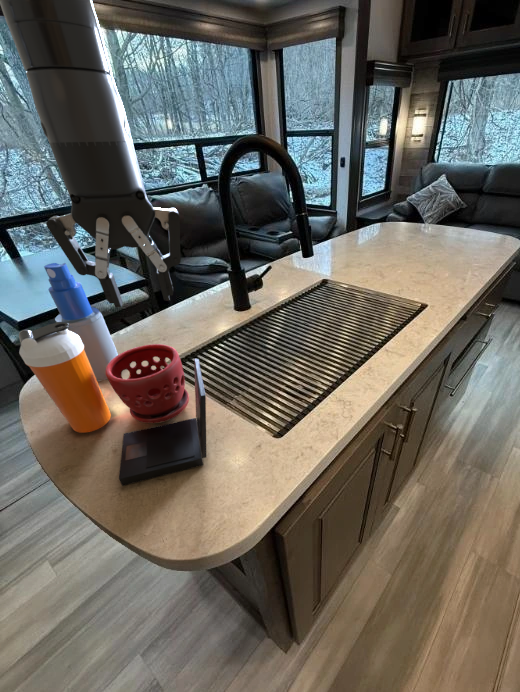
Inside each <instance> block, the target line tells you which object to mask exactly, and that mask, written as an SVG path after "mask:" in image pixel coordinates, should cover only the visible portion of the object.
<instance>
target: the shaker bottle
mask: <svg viewBox="0 0 520 692" xmlns="http://www.w3.org/2000/svg"><path fill="white" fill-rule="evenodd" d="M68 326H69V324H68V323H65V322H58V323H56V322H54V323H50V324H47V325H44V326H41V327H39V328H36V329H34V330H29V329H23V330H21V331H20V332H19V333H18V338H19V339H18V340H19V342H20V347H19V350H18V351H19V352H18V353H19V356H20V357H21V359H22V360H23V362H24V364H25V365H26V366H28V367H29V368H30V370H31V372H32V373H33V374H34V376H35V377H36V378H37V380H38V381H39V383H40V385H41V386H42V387H43V389H44V390H45V391H46V393H47V395H49V397H50V399H51V400H52V401H53V403H54V404H55V405H56V407H57V408H58V410H59V412H60V413H61V415H62V416H63V417H64V418H65V420H66V421H67V423H68V425H69V426H70V427H71V428H72V430H73V431H75V432H77V433H81V434H82V433H83V434H84V433H91V432H94V431H98V430H99V429H101V428H103V427H104V426H105V425H107V424H108V423H109V421H110V420H111V417H112V414H111V411H110V408H109V406H108V404H107V402H106V399H105V397H104V394H103V392H102V389H101V387H100V384H99V381H97V380H96V377H95V375H94V372H93V370H92V368H91V365H90V363H89V360H88V358H87V356H86V353H85V351H84V345H83V343H82V341H81V339H80V337H79V336H78V335H77V334H75V333H73V332H71V331H68V329H67V327H68Z"/></svg>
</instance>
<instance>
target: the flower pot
mask: <svg viewBox="0 0 520 692" xmlns="http://www.w3.org/2000/svg"><path fill="white" fill-rule="evenodd" d="M154 358H158V359H159V360H155V359H154ZM167 359H169V360H170V363H169V364H168V363H167ZM143 362H147V365H143ZM132 363H135V365H134V366H133V367H132V366H131V364H132ZM152 367H155V369H153V368H152ZM162 367H164V368H162ZM125 370H126V371H128V372H129V377H128V378H123V376H122V373H123V371H125ZM138 370H140V372H139V373H138V372H137V371H138ZM106 376H107V378H108V379H107V380H108V382H109V384H110V386H111V388H112V389H113V391H114V392H115V394H116V395H117V396H118V398H119V399H120V401H122V403H123V404H124V405H125V406H126V407H128V408H129V413H130V415H131V417H132V418H133V419H135V420H136V421H137V422H140V423H145V424H160V423H164V422H167V421H170V420H172V419H175V418H176V417H177V416H179V415H180V414H182V412H183V411H184V410H185V409H186V408H187V406H188V405H189V402H190V394H189V392H188V390H187V389H186V388H185V386H186V381H185V379H186V378H185V372H184V367H183V363H182V359H181V357H180V355H179V352H178V350H177V349H176V348H174V347H173V346H170V345H167V344H160V343H152V344H144V345H140V346H136V347H133V348H130V349H127V350H124V351H123V352H121V353H118V356H116V357H115V358H113V359H112V360H111V361H110V362H109V364H108V365H107V367H106Z"/></svg>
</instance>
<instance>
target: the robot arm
mask: <svg viewBox="0 0 520 692" xmlns="http://www.w3.org/2000/svg"><path fill="white" fill-rule="evenodd" d="M0 9H1V11H2V14H3V16H4V20H5V22H6V25H7V27H8V29H9V32H10V34H11V38H12V40H13V42H14V46H15V48H16V50H17V53H18V56H19V58H20V60H21V61H20V62H21V64H22V66H23V69H24V71H25V76H26V78H27V81H28V84H29V88H30V91H31V95H32V100H33V103H34V107H35V110H36V112H37V114H38V118H39V120H40V126H41V129H42V131H43V134H44V136H45V137H46V138H47V141H48V143H49V147H50V148H51V151H52V154H53V157H54V159H55V162H56V164H57V168H58V171H59V172H60V176H61V177H62V180H63V182H64V185H65V187H66V191H67V193H68V196H69V199H70V201H71V209H70V213H66V214H64V215H60V216H59V215H53V216H50V218H48V220H47V221H46V223H45V225H46V228H47V230H48V231H49V232H50V234H51V235H52V237H53V239H54V240H55V241H56V243H57V245H58V246H59V248H60V249H61V250H62V252H63V253H64V255H65V257H66V258H67V260H68V261H69V262H70V264H71V266H72V267H73V269H74V270H75V272H76V273H77V274H78V275H79V276H86V275H88V276H93V277H95V278H96V279H97V280H98V281H99V284H100V286H101V289H102V291H103V294H104V297H105V300H106V301H107V302H108V303H109V304H113V305H114V307H115V308H122V307H123V298H122V296H121V293H120V290H119V287H118V284H117V281H116V279H115V276H114V273H113V272H111V271H110V256H111V251H112V250H119V249H122V248H124V247H126V248H131V249H135V248H140V249H141V250H142V252H143V253H144V254H145V256H146V257H148V258H149V260H150V262H151V263H152V264H153V266H154V267H155V269H156V276H157V279H158V283H159V287H160V291H161V294H162V298H163V301H164V302H169V301H171V296H173V295H174V286H173V282H172V279H171V275H170V269H171V268H172V267H174V266H179V265H180V264H181V262H182V261H181V257H182V256H181V255H182V254H181V221H180V218H181V217H180V213H179V211H178V209H176V208H175V207H170V208H161V207H155V206H154V205H153V203H152V202H151V201H150V199H149V198H148V195H147V192H146V188H145V184H144V180H143V177H142V172H141V169H140V164H139V161H138V158H137V153H136V150H135V146H134V142H133V137H132V134H131V128H130V125H129V122H128V119H127V115H126V111H125V108H124V105H123V101H122V98H121V96H120V94H119V91H118V88H117V86H116V82H115V79H114V76H113V72H112V67H111V64H110V59H109V57H108V52H107V48H106V46H105V40H104V37H103V35H102V34H103V33H102V30H101V27H100V24H99V20H98V17H97V13H96V11H95V7H94V3H93V0H0ZM155 219H157V220H159V221H160V225H161V227H162V228H163V229H164V230H166V231H168V248H169V253H166V254H164V255H163V253H162V252H161V250H160V249H159V247H158V246H157V244H156V243H155V241H154V240H153V238H152V237H151V235H150V231H151V228H152V226H153V223H154V221H155ZM76 224H77V225H78V226H79V227H80V228H81V229H83V230H84V231H85V232H86V233H87V234H88V235H89V236H90V237H92V238H93V239H94V240H95V246H94V247H95V248H94V258H95V259H94V261H90V260H89V259H88V257H87V255H86V253H85V252H84V250H83V249H82V247H81V245H80V243H79V242H78V241H77V239H76V237H75V236H76V234H77V229H76V227H75V226H76Z"/></svg>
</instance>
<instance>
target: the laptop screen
mask: <svg viewBox="0 0 520 692" xmlns="http://www.w3.org/2000/svg"><path fill="white" fill-rule="evenodd" d="M193 360H194V365H193V367H194V368H193V369H194V371H193V372H194V373H193V374H194V399H195V402H194V403H195V418H196V420H197V426H198V433H199V440H200V447H201V453H202V458H203V459H206V458H207V397H206V391H205V386H204V380H203V376H202V374H203V373H202V369H201V365H200V364H201V363H200V359H199V358H193Z"/></svg>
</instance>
